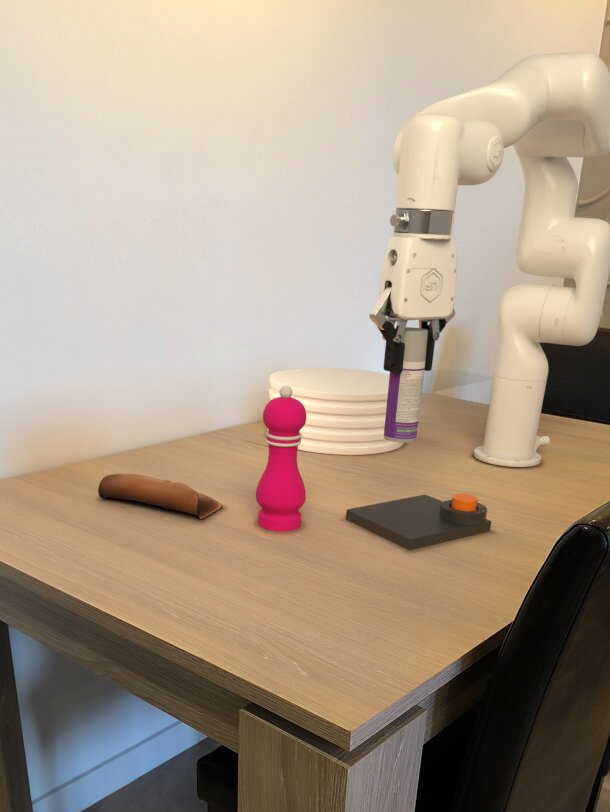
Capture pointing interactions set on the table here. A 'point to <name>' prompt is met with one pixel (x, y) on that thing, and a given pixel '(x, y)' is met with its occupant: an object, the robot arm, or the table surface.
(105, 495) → the sunglasses case
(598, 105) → the robot arm
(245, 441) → the table surface
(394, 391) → the container
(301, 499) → the pepper mill
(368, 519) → the dark grey flat block
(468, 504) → the button
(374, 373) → the plate stack
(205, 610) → the table surface
